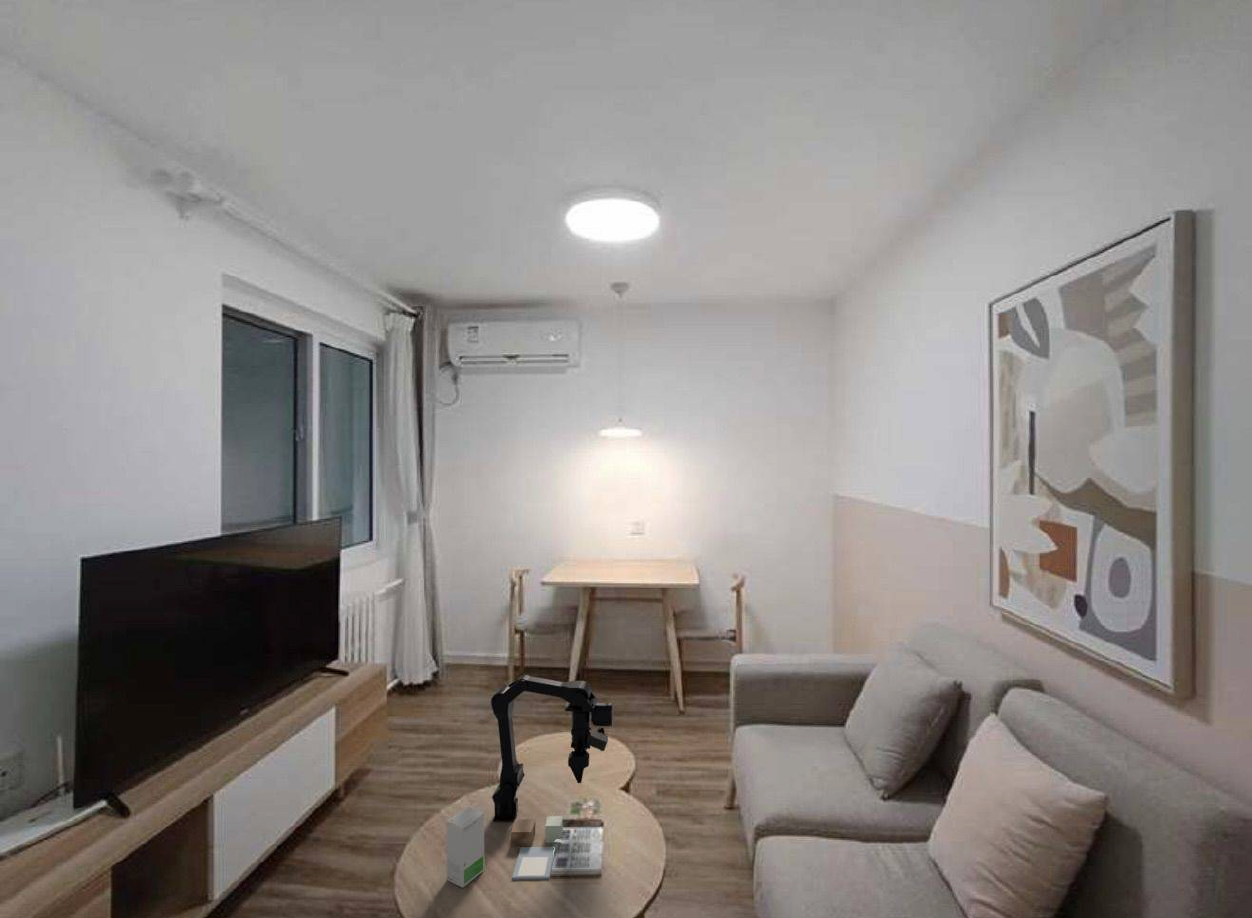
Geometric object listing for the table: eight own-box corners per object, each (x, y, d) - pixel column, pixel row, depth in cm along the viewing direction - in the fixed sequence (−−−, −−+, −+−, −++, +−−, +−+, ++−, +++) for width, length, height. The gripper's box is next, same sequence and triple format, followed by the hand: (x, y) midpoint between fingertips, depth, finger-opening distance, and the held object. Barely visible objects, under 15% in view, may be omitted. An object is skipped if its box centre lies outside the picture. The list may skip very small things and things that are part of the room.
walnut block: (511, 847, 164) (510, 832, 164) (515, 834, 170) (515, 819, 170) (531, 847, 164) (531, 831, 164) (535, 834, 170) (535, 819, 170)
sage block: (545, 843, 165) (545, 825, 165) (547, 833, 170) (547, 816, 170) (561, 842, 165) (560, 825, 165) (563, 832, 170) (562, 816, 170)
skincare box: (462, 889, 148) (461, 829, 148) (444, 879, 151) (444, 821, 151) (485, 869, 155) (485, 812, 155) (469, 861, 158) (468, 804, 158)
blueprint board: (512, 879, 151) (511, 876, 151) (520, 849, 163) (520, 846, 163) (549, 879, 151) (549, 876, 151) (555, 848, 163) (555, 846, 163)
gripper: (605, 738, 168) (605, 791, 167) (607, 711, 186) (607, 759, 186) (568, 738, 167) (567, 791, 167) (573, 711, 186) (573, 759, 186)
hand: (580, 774), depth 177 cm, fingers open, 9 cm apart
